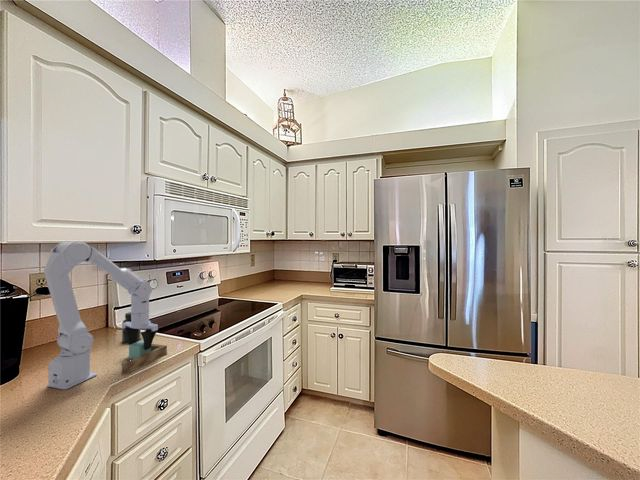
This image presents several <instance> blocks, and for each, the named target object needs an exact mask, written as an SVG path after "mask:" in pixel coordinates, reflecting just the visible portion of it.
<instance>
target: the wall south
mask: <svg viewBox="0 0 640 480" xmlns="http://www.w3.org/2000/svg"><path fill="white" fill-rule="evenodd" d="M164 355H165V354H164V347H159V348H157V349H155V350H152V351H150V352H148V353H146V354H144V355H142V356H139V357H137V358H135V359H133V360H131V361H129V360H128V361H126V362H125V363H122V364H121V374H123V375H126V374H129V373H130V371H131V372H133V371H134V369H135V370H137V369H139V368H141V367H143V366H144V364H145V365H147V364H148V362H149V363H151V362H152V361H155V360H157V359H158V358H160V357H162V356H164ZM150 361H151V362H150ZM146 363H147V364H146ZM142 365H143V366H142ZM140 366H141V367H140ZM138 367H139V368H138ZM136 368H137V369H136ZM132 370H133V371H132Z"/></svg>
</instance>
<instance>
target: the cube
mask: <svg viewBox="0 0 640 480" xmlns="http://www.w3.org/2000/svg"><path fill="white" fill-rule="evenodd" d="M150 351H151V348H150V349H148V350H145V349H144V340H140V339H139V340H138V341H137V342H135V343H133V344H130V345H129V344H128V357H129V359H135V358H137V357H139V356H142V355H144V354H146V353H148V352H150Z"/></svg>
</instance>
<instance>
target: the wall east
mask: <svg viewBox="0 0 640 480" xmlns="http://www.w3.org/2000/svg"><path fill="white" fill-rule="evenodd" d="M159 347H164V355H166V354H167V353H168V349H167V348H168V345H163V344H158V343H157V344H156V343H152V345H151V351H152V350H155V349H157V348H159Z"/></svg>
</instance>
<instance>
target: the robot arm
mask: <svg viewBox="0 0 640 480" xmlns="http://www.w3.org/2000/svg"><path fill="white" fill-rule="evenodd" d="M49 255H50V256H49V257H48V260H47V262H46V264H45V266H44V270H43V273H44V277H45V281H46V284H47V288H48V291H49V294H50V297H51V301H52V304H53V309H54V312H55V314H56V318H57V321H58V323H59V324H58V325H59V326H58V327H57V333H58V337H57V339H56V344H57V345H58V346H59V347H60V348H61V350H60V352H59V355H58V356H57V357H55V358H53V359H52V360H51V361H49V364H48V368H47V369H48V375H47V377H48V378H47V379H48V383H47V384H46V387H49V388H55V389H59V390H68V389H70V388H72V387H74V386H77V385H78V384H80V383H83V382H85V381H87V380H89V379H91V378H93V377H96V376H98V373H97V372H91V348H92V346H93V344H94V341H95V340H94V336H93V335H92V334H91V333H90V332H89V331H88V329H87V326H86V325H85V323H84V322H83V321H82V318H81V315H80V311H79V308H78V303H77V300H76V296H75V294H74V290H73V286H72V283H71V278H70V275H69V274H70V272H71V271H73V269H74V268H75V267H77V266H78V265H80V264H81V263H82V262H86V263H91V264H93V265H94V266H96V267H98V268H99V269H101V270H103V271H105V272H106V273H107V274H110V275H111V278H112V281H113V282H114V283H116V284H117V285H119V286H120V287H121V288H124V289H125V290H126V291H127V293H128V294H129V295H130V298H131V299H130V300H131V301H130V302H131V304H130V307H131V308H130V312H131V322H125V323H123V328H126V329H125V330H123V334H124V335H125V336H126V338H127V341H128V346H129V345H130V344H133V343H135V342H138V341H137V334H138V330H139V329H141V330H144V331H142V332H141V335H140V336H141V337H142V339H143V340H142V341H144V349H145V350H148V349H150V348H151V345H152V344H153V341H154V338H155V336H156V334H157V332H158V330H159V325H158V324H157V323H152V322H151V320H150V296H151V293H152V292H153V290H154V289H153V287H152V285H151V283H150V282H148V281H146V280H143V277H142V276H138V275H137V274H135V273H134V272H133V269H131V268H127V267H119V266H118V265H117V264H115V263H114V262H113V261H111V260H110V259H109V258H107V257H106V256H105V255H103V254H102V253H101V252H100V251H98V249H96V248H95V247H93V246H90V245H89V244H88V243H86V242H84V241H80V240H79V241H69V240H68V241H67V240H66V241H61V242H59V243H57V244H56V245H55V246H54V247H53V248H52V249H51V250H50V254H49Z"/></svg>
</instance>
